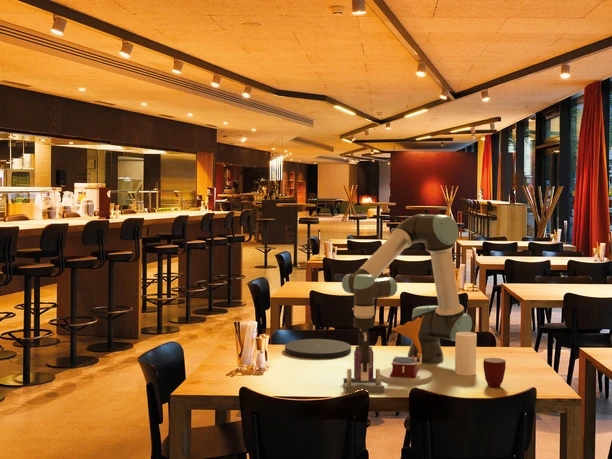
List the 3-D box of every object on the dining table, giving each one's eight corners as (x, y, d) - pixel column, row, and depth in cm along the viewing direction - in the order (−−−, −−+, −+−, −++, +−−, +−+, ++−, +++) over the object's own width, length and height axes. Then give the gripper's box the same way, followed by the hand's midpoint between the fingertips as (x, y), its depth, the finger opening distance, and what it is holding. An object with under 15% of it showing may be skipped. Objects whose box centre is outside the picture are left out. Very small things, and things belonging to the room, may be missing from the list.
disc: (362, 350, 350) (363, 343, 350) (329, 363, 325) (329, 356, 325) (307, 342, 366) (307, 336, 366) (271, 354, 341) (271, 347, 341)
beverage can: (374, 377, 286) (374, 345, 285) (372, 382, 279) (372, 349, 278) (355, 376, 287) (355, 344, 287) (352, 381, 281) (352, 348, 280)
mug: (476, 382, 292) (476, 356, 291) (495, 381, 294) (496, 355, 293) (489, 389, 282) (489, 363, 281) (509, 388, 283) (509, 362, 283)
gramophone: (433, 373, 307) (434, 311, 305) (430, 386, 287) (431, 320, 285) (383, 370, 311) (383, 309, 310) (376, 383, 292) (376, 318, 290)
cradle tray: (380, 384, 289) (380, 365, 289) (384, 392, 278) (384, 373, 277) (343, 384, 289) (343, 365, 289) (345, 392, 277) (345, 373, 277)
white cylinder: (477, 371, 309) (477, 332, 308) (474, 376, 301) (475, 336, 300) (456, 369, 312) (457, 331, 311) (453, 374, 304) (454, 334, 303)
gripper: (351, 311, 292) (351, 371, 293) (355, 321, 272) (355, 385, 273) (371, 311, 292) (371, 371, 293) (377, 321, 272) (376, 384, 273)
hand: (363, 377), depth 283 cm, fingers closed on beverage can, 7 cm apart
